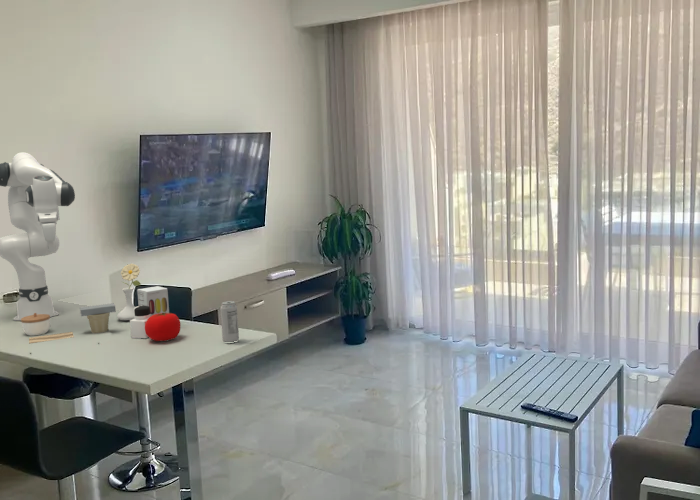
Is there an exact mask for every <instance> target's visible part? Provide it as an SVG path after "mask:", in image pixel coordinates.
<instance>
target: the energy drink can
mask: <svg viewBox="0 0 700 500" xmlns="http://www.w3.org/2000/svg"><path fill="white" fill-rule="evenodd" d="M219 308H220V309H219V311H220V320H221V323H220V324H221V335H222V338H221V339H222V341H223V342H234V341H237V340H238V341H239V340H240V334H239V318H238V306H237V305H236V302H235V301H233V300H228V301H227V300H226V301H222V302H221V306H220V307H219Z"/></svg>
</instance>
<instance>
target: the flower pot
mask: <svg viewBox="0 0 700 500" xmlns="http://www.w3.org/2000/svg"><path fill="white" fill-rule="evenodd" d="M110 313H111V312H110ZM110 313H103V314H95V315H88V316H86V317H87V318H86V319H87V320H88V324H89V327H90V331H91V332H90V333H92V334H99V333H106V332H108V331H109V318H110Z"/></svg>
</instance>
